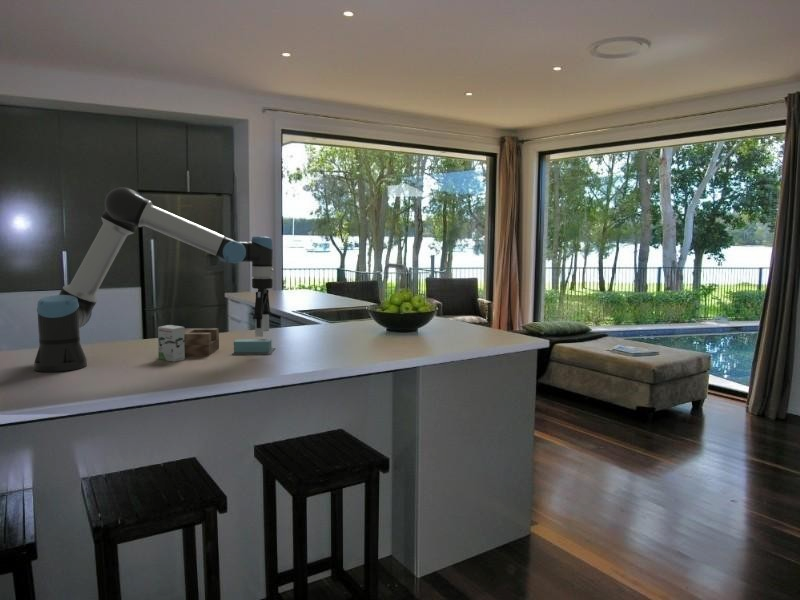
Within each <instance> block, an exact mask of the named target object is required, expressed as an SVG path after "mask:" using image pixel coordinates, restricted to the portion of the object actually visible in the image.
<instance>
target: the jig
mask: <svg viewBox="0 0 800 600" xmlns="http://www.w3.org/2000/svg"><path fill="white" fill-rule="evenodd" d="M219 330H220V329H219V327H218V328H217V327H212V328H211V327H209V328H206V327H205V328H203V327H202V328H200V327H199V328H198V327H197V328H193V327H192V328H190V327H187V328H185V327H184V347H185V357H194V356H195V357H198V356H199V357H201V356H202V357H207V356H208V357H210V356H211V355H212V354H214V353H215V352H217V351H218V350H219V349H220V333H219V332H220V331H219Z"/></svg>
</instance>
